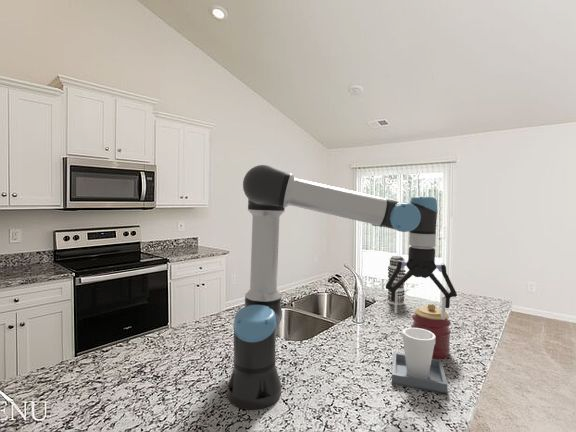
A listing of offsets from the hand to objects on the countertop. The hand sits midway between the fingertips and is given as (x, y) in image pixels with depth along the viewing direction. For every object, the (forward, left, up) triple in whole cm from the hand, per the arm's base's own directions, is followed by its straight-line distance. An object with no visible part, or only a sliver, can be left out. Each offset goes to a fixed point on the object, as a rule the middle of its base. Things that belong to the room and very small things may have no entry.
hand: (418, 314), depth 100 cm
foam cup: (0, 0, -19) cm, 19 cm away
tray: (0, 0, -20) cm, 20 cm away
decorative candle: (+75, +8, -20) cm, 78 cm away
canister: (+20, -5, -20) cm, 29 cm away
